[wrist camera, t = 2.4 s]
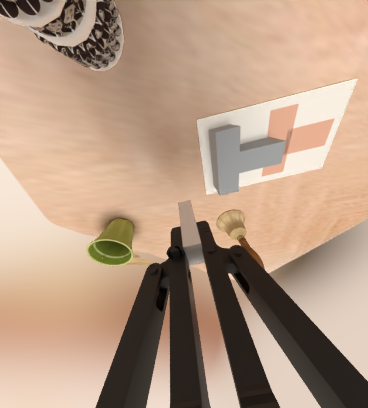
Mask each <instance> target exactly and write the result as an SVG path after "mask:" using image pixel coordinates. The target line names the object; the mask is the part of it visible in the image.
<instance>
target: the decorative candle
mask: <svg viewBox="0 0 368 408" xmlns="http://www.w3.org/2000/svg"><path fill="white" fill-rule="evenodd" d="M0 16H1V17H3V18H4V19H6V20H8V21H10V22H12V23H13V24H15V25H22V26H24V27H26V28H28V29H29V30H31V31H33V32H34V33H35V35H36V36H37V38H38V39H39V40H41V41H42V42H43V43H49V44H50V45H51V46H52V47H53V48H54V49H55V50H57V51H58V52H61V53H63V54H64V55H65V56H67V57H70V58H71V59H73V60H74V61H75V62H77V63H79V64H81V65H83V66H84V67H88V68H90V69H92V70H96V71H107V70H109V69H111V68H112V67H114V66H116V64H117V62H118V61H119V59H120V57H121V55H122V50H123V43H124V35H123V28H122V20H121V17H120V15H119V12H118V9H117V7H116V5H115V2H114V0H0Z"/></svg>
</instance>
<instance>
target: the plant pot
mask: <svg viewBox="0 0 368 408" xmlns="http://www.w3.org/2000/svg"><path fill="white" fill-rule="evenodd" d="M133 231H134V226H133V224H132V223H131V222H130V221H128V220H123V219H121V218H119V219H115V220H113V221H112V222H111V223H110V224H109V225H108V226H107V228H106V229H105V230H104V231H103V232H102V234H101V235H100V236H99V237H98V238H97V239H95V240H94V241H93V242H91V243H90V244H89V245H88V247H87V254H88V256H89V257H90V258H91V259H93V260H94V261H96V262H98V263H100V264H104V265H108V266H119V265H124V264H126V263H128V262H129V261H131V259H132V257H133V251H132V238H133Z"/></svg>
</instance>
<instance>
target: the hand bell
mask: <svg viewBox="0 0 368 408" xmlns="http://www.w3.org/2000/svg"><path fill="white" fill-rule="evenodd" d="M244 221H245V216H244V214H243V213H242V212H241V211H239V210H230V211H227V212H225V213H223V214H222V215H221V216H220V217H219V218H218V220H217V227H218V228H219V229H220V230H221V231H223V232H226V233H227V234H228V235H229V236H230V238H231V239H233V240H238V241H239V243H240V244H241V246H242V247H244V248H245V249H246V250H247V251H248V252H249V253H250V255H251V256H252V257H253V258H254V259H255V260H256V261H257V262H258V263H259V264H260V265H261V266H262V268H263V269H264V265H263V262H262V260H261V258H260V257H259V255H258V254H257V253H256V252H255V251H254V250H253V249H252V248H251V247H250V246H249V244H248V243H247V241H246V239H245V238H244V236H245V235H246V229H245V227H244V224H243V223H244ZM264 270H265V269H264Z"/></svg>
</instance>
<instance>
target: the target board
mask: <svg viewBox="0 0 368 408" xmlns="http://www.w3.org/2000/svg"><path fill="white" fill-rule="evenodd" d="M357 79H358V78H356V79H352V80H348V81H345V82H341V83H337V84H333V85H329V86H325V87H321V88H318V89H314V90H310V91H306V92H302V93H298V94H294V95H290V96H287V97H283V98H279V99H275V100H271V101H267V102H263V103H260V104H256V105H252V106H248V107H244V108H240V109H236V110H232V111H229V112H225V113H221V114H217V115H213V116H209V117H205V118H201V119H198V120H196V122H197V129H198V137H199V144H200V151H201V159H202V166H203V174H204V181H205V188H206V195H208V194H212V193H216V192H217V190H216V189H215V187H214V183H213V172H212V161H211V151H210V140H209V129H213V128H217V127H221V126H225V125H229V124H231V125H238V126H241V127H240V144H243V143H247V142H251V141H256V140H260V139H264V138H268V137H272V138H276V139H281V140H285V141H286V143H285V148H284V153H283V157H282V162H281V164H277V165H272V166H268V167H264V168H260V169H255V170H251V171H247V172H243V173H239V187H242V186H247V185H251V184H255V183H259V182H264V181H268V180H272V179H277V178H281V177H285V176H290V175H294V174H298V173H302V172H307V171H311V170H315V169H320V168H322V166H323V163H324V161H325V158H326V156H327V154H328V151H329V149H330V146H331V144H332V141H333V139H334V136H335V134H336V131H337V129H338V126H339V124H340V121H341V119H342V116H343V114H344V111H345V109H346V106H347V104H348V101H349V99H350V96H351V94H352V91H353V89H354V86H355V84H356V81H357Z"/></svg>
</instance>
